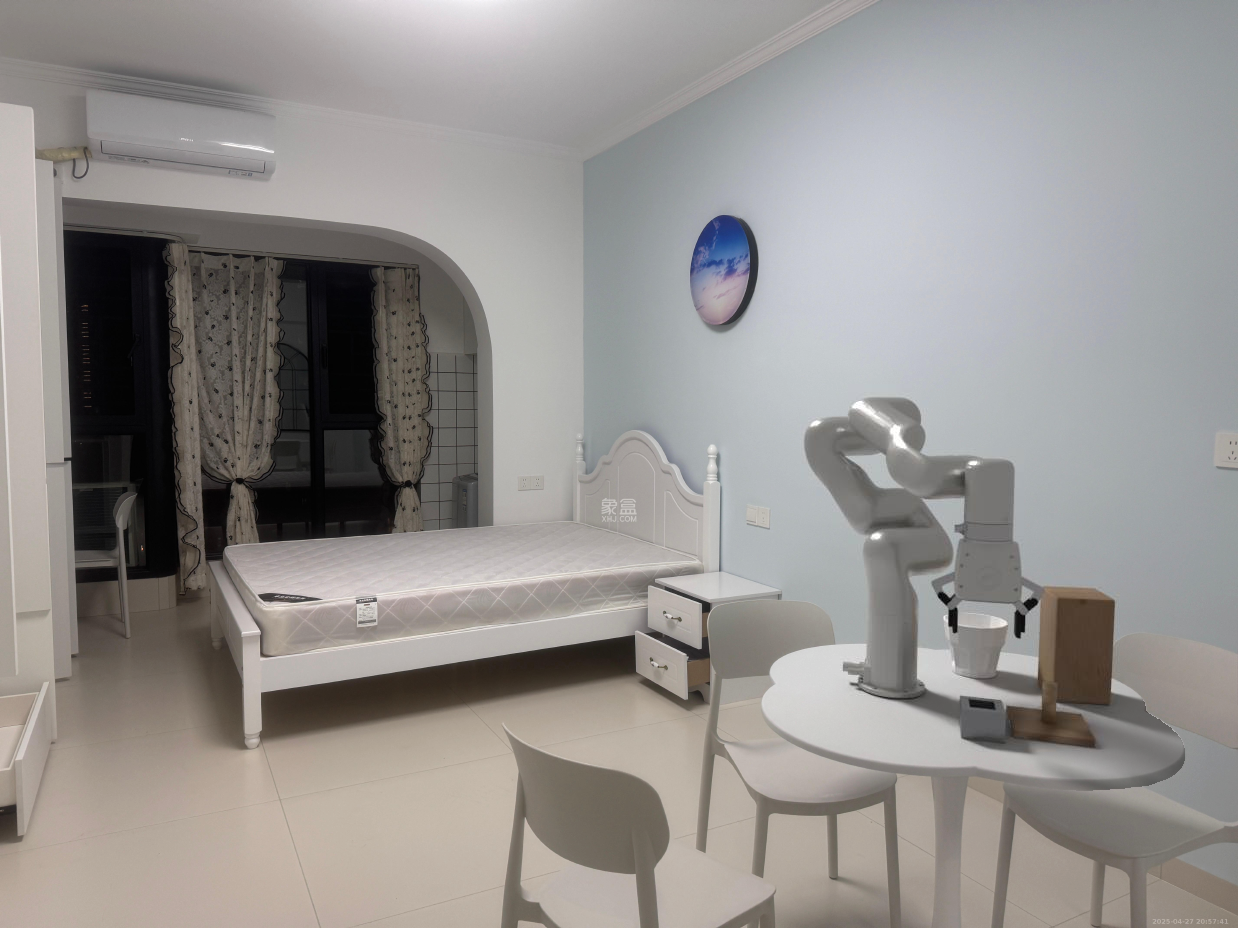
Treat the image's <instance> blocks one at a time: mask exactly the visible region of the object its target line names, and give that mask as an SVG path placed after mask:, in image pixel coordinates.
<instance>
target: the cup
mask: <svg viewBox="0 0 1238 928" xmlns="http://www.w3.org/2000/svg"><path fill="white" fill-rule="evenodd" d="M943 625H944V634H945V638H946V640H947V642H948V645H949V653H950V659H951V671H952V672H954V674H955V675H959V676H962V677H966V678H970V679H983V680H985V679H986V680H987V679H991V678H994V677H996V676H997V668H998V663H999V659H1000V655H1001V651H1002V649H1003V648H1004V646H1005V644H1006V640H1007V634H1008V628H1009V623H1008V621H1006V620H1004V618H1002V617H1001V618H1000V617H997V616H993V615H990V614H989V615H988V614H983V613H975V612H958V633H953V631H952V627H948V613H947V614H945V615H943Z"/></svg>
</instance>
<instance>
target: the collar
mask: <svg viewBox="0 0 1238 928" xmlns="http://www.w3.org/2000/svg"><path fill="white" fill-rule="evenodd" d="M1006 716H1007V713H1006V709H1005V706H1004V704H1003V701H1002V699H994V698H984V697H978V696H977V697H976V696H967V695H959V715H958V725H959V732H960V738H961V739H966V740H967V739H968V740H975V741H982V742H989V743H997V744H1005V740H1006Z"/></svg>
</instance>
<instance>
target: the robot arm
mask: <svg viewBox="0 0 1238 928" xmlns="http://www.w3.org/2000/svg"><path fill="white" fill-rule="evenodd" d="M920 411H921V410H920V409H919V407H918V406H917V405H916V403H915V402H913V401H912V400H910V399H909V398H906V397H899V396H898V397H895V396H894V397H891V396H890V397H889V396H888V397H886V396H884V397H883V396H875V397H874V396H871V397H865V398H861V399H859V400H857V401H855V403H853V404H852V405H851V407H850V409H849V410H848V412H847V413H848V414H847V416H828V417H823V418H819V419H817V420H814V421H813V422H811V423H810V424H809V425H808V426H807V428H806V430H805V433H804V437H803V439H804V440H803V447H804V448H803V449H804V453H805V458H806V460H807V461H806V462H807V464H808V466H809V467H810V468H811V470H812V472H813V474H814V475H815V476H816V477H817V478H818V480H819V481H820V482H821V484H823V485H824V486H825V488H826V489H827V490H828V491H829V494H830V495H831V496H832V498H833V500H834V502H835V504H836V505H837V506H838V508H839V509H840V511H841V513H842V514H843V515H844V518H845V519H846V520H847V522H848V524H849V526H851V528H852V529H853V530H854V531H855V532H856V533H857V534H859V535H862V536H868V537H867V538H866V539H865V540H864V543H863V549H862V557H863V563H864V569H865V576H866V589H867V591H866V592H867V600H866V601H867V605H866V607H867V609H866V611H867V612H866V616H867V617H866V619H867V620H866V651H865V653H866V655H865V659H864V661H859V662H858V663H857V662H856V663H855V662H854V663H853V662H852V661H851V662H850V661H842V662H843V663H842V672H847V674H848V675H850V676H851V675H852V676H858V677H857V686H858V687H859V688H860V689H862V690H863V691H865V692H867V693H869V694H871V695H876V696H879V697H883V698H892V699H911V698H912V699H913V698H916V697H920V696H922V695H923V694H925V693H926V685H925V683H924V682H923V680H921V679H918V652H919V651H918V646H919V644H918V643H919V615H920V614H919V608H920V607H919V606H920V605H919V604H920V602H919V597H918V594H917V592H916V590H915V588H914V586H913V584H912V583H911V580H910V577H917V576H918V577H919V576H928V575H935V574H940V573H943V572H944V571H947V570H948V569H949V568H950V566H951V565H952V563H953V561H954V554H955V553H954V547H953V544H952V541H951V539H950V537H949V535H948V533H947V532H946V530H945V529H944V528H943V526H942V524H941V523H940V522H939V520H938V519H937V518H936V516H935V515H934V513H933V512H932V510H930V508H929V506H928V505H927V503H926V502H924V501H925V500H942V499H943V500H944V499H945V500H947V499H948V500H949V499H964V501H963V502H964V503H963V504H964V505H963V507H964V508H963V522H961V523H959V524H954V533H959V534H961V535H962V536H963V537H962V538H959V540H958V544H957V549H956V555H955V556H956V557H955V562H954V570H953V572H949V573H947V574H945V575H943V576H940V577H937V578H935V579H933V580H931V587H932V589H933V590H934V592H935V594H936V596H937V598H938V600H940V602H941V603H943V604H944V606H945V607H947V609H948V612H947V614H948V627H952V631H953V633H958V613H959V609H958V607H957V606H958V605H959V604H960V603H962V601H964V602H974V603H975V602H977V603H991V604H1005V605H1006V604H1008V605H1009V604H1011V605H1013V606H1014V608H1016V610H1015V611H1014V612H1013V615H1014V616H1013V617H1014V618H1013V620H1014V622H1013V634H1014V637H1015V638H1016V639H1018V640H1019V639H1022V633H1026V615H1028V614H1029V612H1030V611H1032V610H1033V609H1034V608H1036V606H1038V604H1039V602H1040V601H1041V598H1042V596H1043V594H1044V593H1045V589H1044V588H1043V586H1041V585H1039V584H1037V583H1036V582H1034V581H1032V580H1030V579H1028V578H1026V577H1025V576H1022V559H1021V553H1020V552H1021V551H1020V547H1019V543H1018V542H1017V541H1014V514H1015V512H1014V510H1015V471H1016V470H1015V466H1014V463H1013V462H1012V461H1010V460H1009V459H1004V458H1003V459H1002V458H983V457H980V456H976V455H970V454H969V455H967V454H965V455H960V454H959V455H953V454H952V455H925V454H923V453H922V450H923V448H924V446H925V444H926V443H925V442H926V432H925V428H924V427H923V426H922V425H921V423H922V415H921V412H920ZM880 453H882V455H884V456H885V462H886V467H887V471H888V473H889V475H890V477H891V478H892V481H894V482H896V483H897V485H899V486H901V487H902V488H901V487H894V488H893V487H891V488H887V487H886V488H884V487H881V486H880V487H879V486H877V485H876V484H875V483H874V481H872V479H871V478H870V477H869V475H868V473H867V472H866V471H865V469H863V468H862V467H861V466H860V465H859V464H858V463H855V462H854V461H852V460H851V459H850V458H848V457H853V456H854V457H855V456H856V457H858V456H860V457H861V456H874V455H878V454H880ZM952 582H953V588H954V589H953V590H954V593H953V594H952V595H951V596H949V595H948V594H947V593H946V592H945V591H944V589H943V588H942V587H943V586H945V585H948V584H950V583H952ZM1023 587H1025V588H1026V589H1028V590H1030V591H1031V592H1032V594H1031V596H1030V597H1028V598H1027V599H1026V600H1024V601H1022V600H1021V599H1022V593H1023V591H1022V589H1023Z"/></svg>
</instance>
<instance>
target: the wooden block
mask: <svg viewBox="0 0 1238 928" xmlns="http://www.w3.org/2000/svg"><path fill="white" fill-rule="evenodd" d="M1042 587H1043V588H1044V589H1045V593H1044V594H1043V596H1042V598H1041V599H1040V605H1039V606H1040V607H1039V609H1040V610H1039V632H1038V634H1039V636H1038V661H1037V663H1038V664H1037V684H1038V686H1039V687H1040V688H1041V689H1042V687H1043V681H1051V682H1055V683H1057V702H1058V703H1059V702H1060V703H1070V704H1071V703H1073V704H1074V703H1075V704H1087V705H1102V706H1109V705H1111V702H1112V701H1111V700H1112V699H1111V698H1112V682H1113V681H1112V679H1113V659H1114V658H1113V657H1114V655H1113V654H1114V634H1115V633H1114V632H1115V613H1116V611H1115V610H1116V609H1115V608H1116V601H1115V599H1114V598H1112V597H1110V596H1109V595H1106V593H1103V592H1101V591H1100V590H1099V589H1096V588H1093V587H1077V586H1076V587H1075V586H1074V587H1073V586H1071V587H1069V586H1051V585H1050V586H1049V585H1044V586H1042ZM1057 702H1056V703H1057Z"/></svg>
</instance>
